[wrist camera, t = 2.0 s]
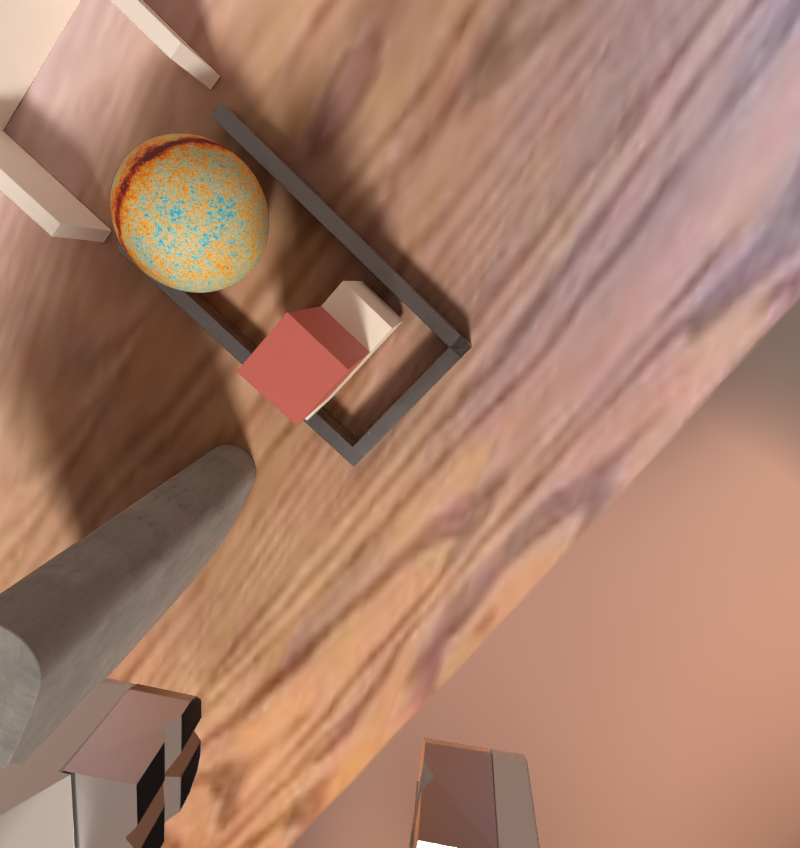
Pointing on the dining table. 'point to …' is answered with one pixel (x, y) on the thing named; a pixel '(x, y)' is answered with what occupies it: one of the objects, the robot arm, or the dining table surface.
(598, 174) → the dining table surface
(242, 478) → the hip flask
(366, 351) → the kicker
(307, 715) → the dining table surface
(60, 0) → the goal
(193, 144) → the ball
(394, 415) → the dark grey rectangular frame
